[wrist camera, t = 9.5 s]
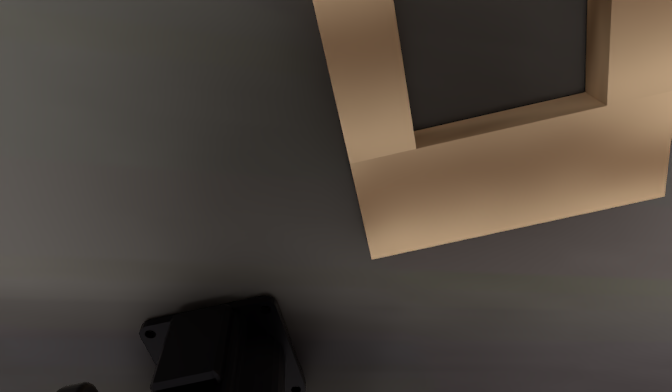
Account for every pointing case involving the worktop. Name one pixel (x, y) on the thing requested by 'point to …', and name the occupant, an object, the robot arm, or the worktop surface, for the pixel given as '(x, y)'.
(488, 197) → the pocket board
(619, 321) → the worktop surface
